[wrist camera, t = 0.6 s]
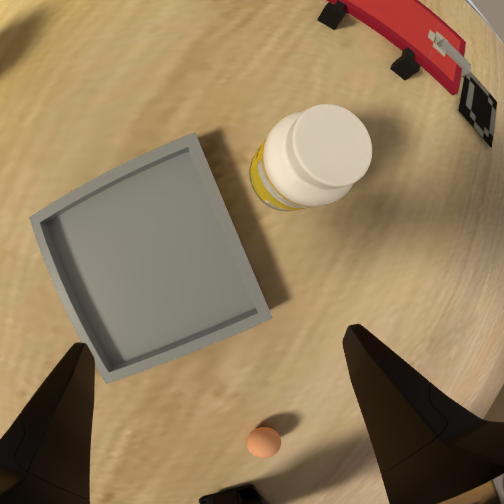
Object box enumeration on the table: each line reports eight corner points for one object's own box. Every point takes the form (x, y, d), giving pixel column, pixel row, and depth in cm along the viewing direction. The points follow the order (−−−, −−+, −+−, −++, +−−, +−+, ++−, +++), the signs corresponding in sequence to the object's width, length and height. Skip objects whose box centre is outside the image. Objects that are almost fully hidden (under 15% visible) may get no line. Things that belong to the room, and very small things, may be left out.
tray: (267, 311, 23) (272, 318, 21) (112, 373, 21) (106, 383, 20) (195, 139, 21) (195, 132, 19) (40, 217, 19) (29, 217, 18)
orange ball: (281, 436, 24) (289, 456, 21) (252, 447, 24) (257, 468, 21) (270, 416, 24) (277, 435, 21) (239, 428, 23) (243, 449, 21)
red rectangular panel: (483, 161, 25) (493, 83, 26) (500, 157, 23) (506, 77, 23) (259, -5, 21) (315, -52, 21) (264, -22, 18) (322, -66, 18)
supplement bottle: (295, 131, 22) (350, 77, 12) (328, 191, 23) (403, 174, 13) (234, 160, 21) (255, 114, 12) (269, 224, 22) (316, 225, 13)
